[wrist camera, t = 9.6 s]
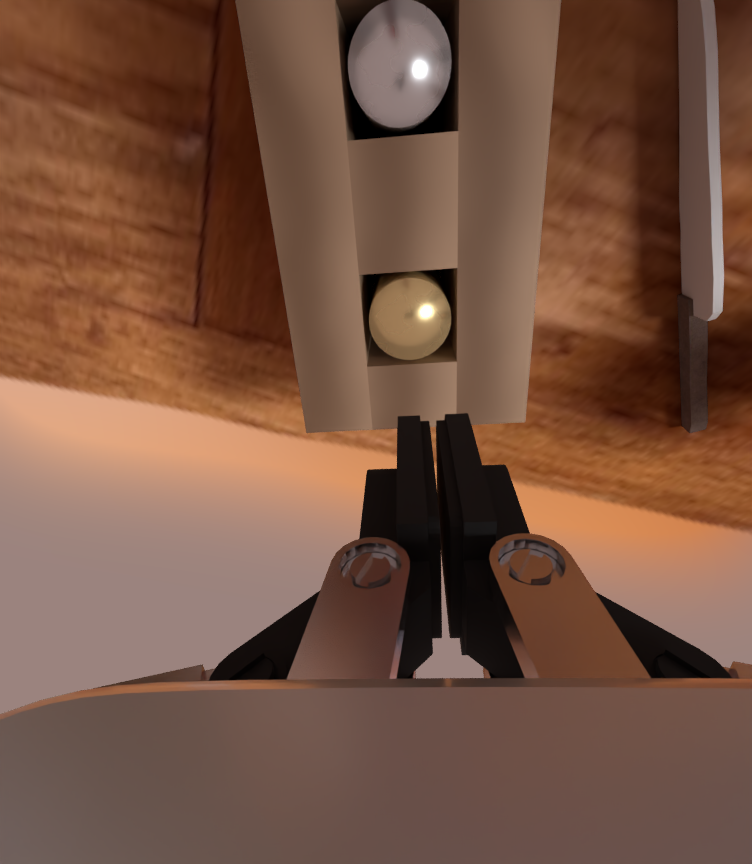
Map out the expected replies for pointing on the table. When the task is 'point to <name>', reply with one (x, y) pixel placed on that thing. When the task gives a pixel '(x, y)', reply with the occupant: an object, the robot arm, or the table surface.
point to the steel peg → (399, 66)
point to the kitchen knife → (698, 203)
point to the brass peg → (409, 313)
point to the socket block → (406, 206)
